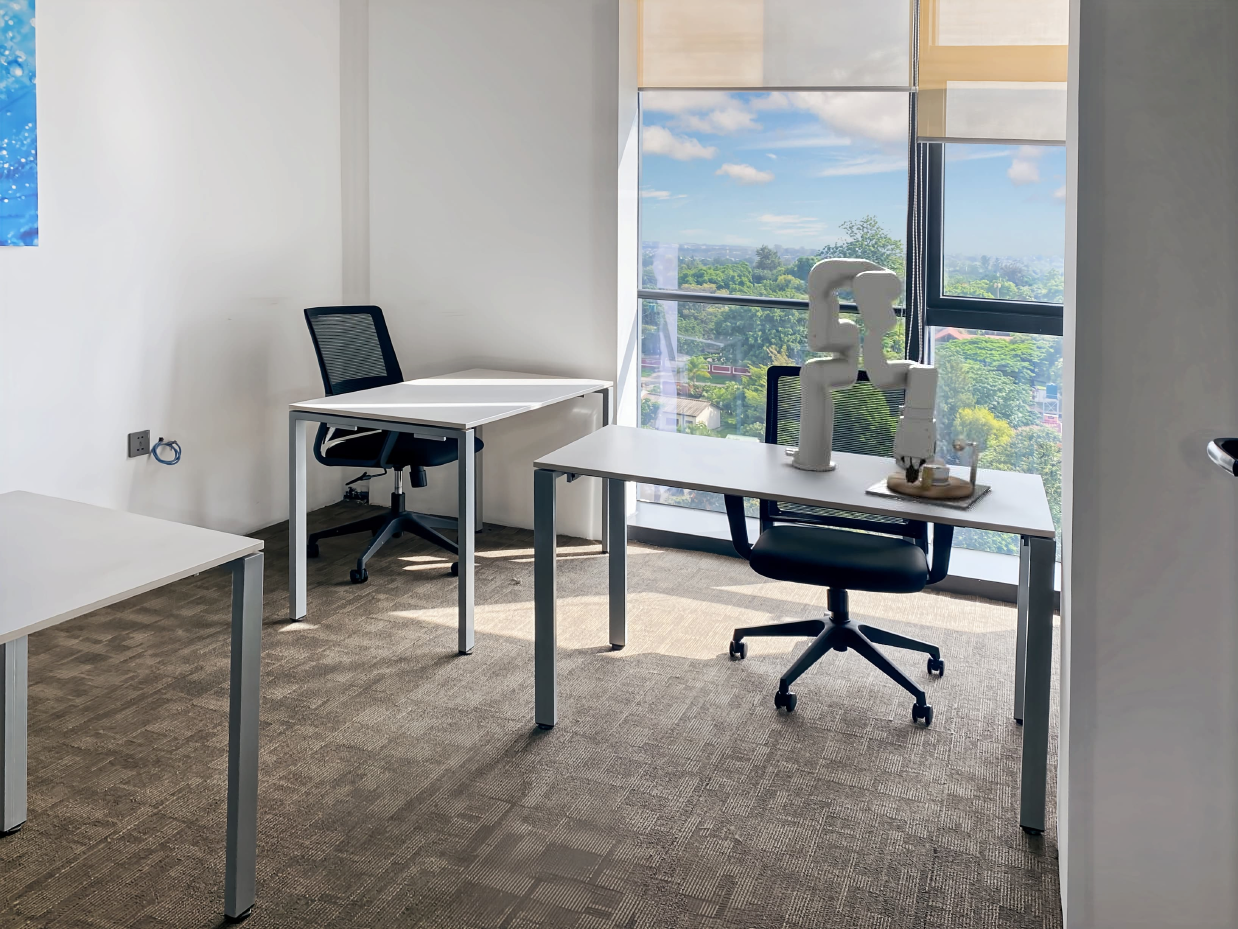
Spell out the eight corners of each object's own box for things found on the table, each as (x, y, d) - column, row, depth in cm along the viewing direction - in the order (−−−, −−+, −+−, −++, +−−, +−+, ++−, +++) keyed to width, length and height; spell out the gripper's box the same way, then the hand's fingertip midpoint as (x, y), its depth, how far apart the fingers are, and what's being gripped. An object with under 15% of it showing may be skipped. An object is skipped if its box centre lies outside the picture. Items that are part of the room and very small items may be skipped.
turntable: (881, 491, 273) (883, 464, 271) (892, 473, 293) (895, 447, 291) (969, 502, 265) (972, 473, 263) (975, 483, 285) (978, 456, 283)
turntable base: (865, 494, 275) (869, 441, 272) (896, 475, 296) (900, 425, 293) (965, 510, 262) (971, 455, 258) (990, 489, 283) (996, 438, 280)
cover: (917, 483, 276) (918, 468, 275) (921, 477, 283) (923, 462, 282) (947, 487, 273) (949, 472, 272) (951, 481, 280) (952, 466, 279)
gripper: (885, 411, 269) (878, 480, 273) (943, 419, 261) (935, 490, 265) (895, 407, 275) (888, 474, 279) (951, 415, 267) (944, 484, 272)
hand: (911, 482), depth 272 cm, fingers closed
